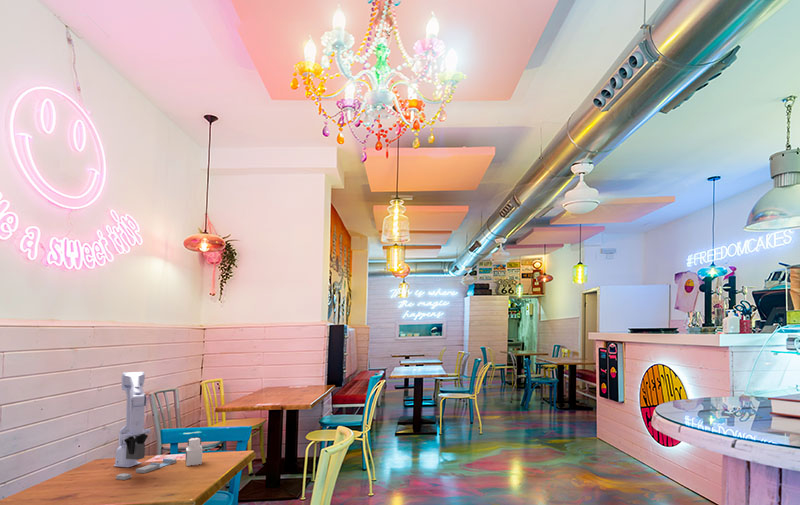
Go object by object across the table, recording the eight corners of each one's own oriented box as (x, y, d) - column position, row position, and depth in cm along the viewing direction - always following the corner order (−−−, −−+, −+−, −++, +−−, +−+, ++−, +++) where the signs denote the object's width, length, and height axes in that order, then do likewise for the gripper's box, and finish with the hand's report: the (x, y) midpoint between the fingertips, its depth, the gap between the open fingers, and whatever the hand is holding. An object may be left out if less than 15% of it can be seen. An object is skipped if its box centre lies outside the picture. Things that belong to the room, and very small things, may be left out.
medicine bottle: (185, 463, 242) (186, 437, 244) (201, 461, 245) (201, 435, 247) (185, 466, 236) (186, 440, 238) (202, 464, 239) (202, 438, 241)
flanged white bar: (115, 479, 217) (116, 474, 218) (168, 461, 245) (168, 457, 246) (124, 479, 216) (124, 474, 216) (176, 462, 244) (176, 457, 244)
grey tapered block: (125, 458, 224) (126, 444, 225) (132, 456, 227) (133, 443, 228) (137, 459, 222) (138, 445, 223) (144, 457, 225) (145, 444, 226)
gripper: (130, 425, 219) (128, 457, 217) (156, 419, 232) (154, 449, 230) (118, 424, 221) (116, 456, 219) (144, 418, 235) (143, 448, 233)
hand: (135, 453), depth 225 cm, fingers closed on grey tapered block, 4 cm apart
